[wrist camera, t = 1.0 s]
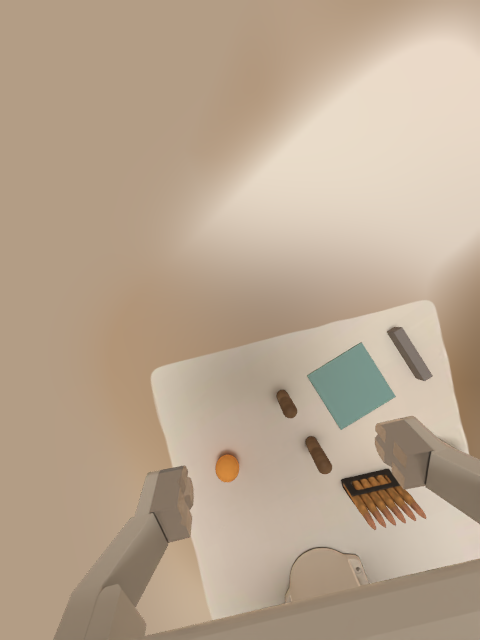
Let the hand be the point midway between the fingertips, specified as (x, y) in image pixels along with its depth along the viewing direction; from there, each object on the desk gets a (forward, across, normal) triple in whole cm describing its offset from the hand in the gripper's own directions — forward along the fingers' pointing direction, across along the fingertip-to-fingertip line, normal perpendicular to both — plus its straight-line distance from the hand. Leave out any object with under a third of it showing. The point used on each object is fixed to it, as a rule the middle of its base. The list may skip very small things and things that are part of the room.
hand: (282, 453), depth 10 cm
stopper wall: (+36, +34, -23) cm, 55 cm away
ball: (+30, -9, -38) cm, 49 cm away
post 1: (+36, +6, -28) cm, 45 cm away
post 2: (+31, +10, -38) cm, 50 cm away
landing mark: (+35, +21, -28) cm, 50 cm away
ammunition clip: (+28, +21, -47) cm, 59 cm away
